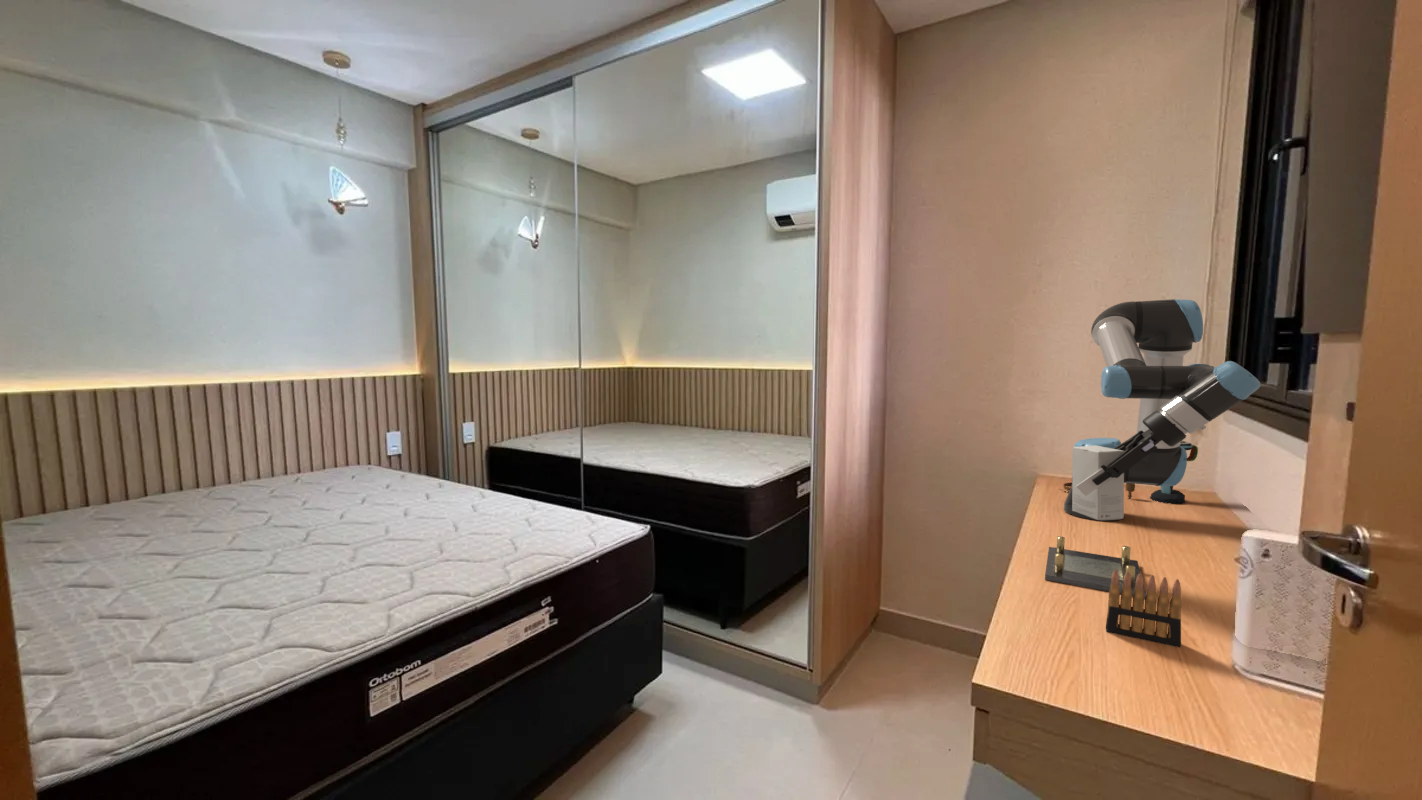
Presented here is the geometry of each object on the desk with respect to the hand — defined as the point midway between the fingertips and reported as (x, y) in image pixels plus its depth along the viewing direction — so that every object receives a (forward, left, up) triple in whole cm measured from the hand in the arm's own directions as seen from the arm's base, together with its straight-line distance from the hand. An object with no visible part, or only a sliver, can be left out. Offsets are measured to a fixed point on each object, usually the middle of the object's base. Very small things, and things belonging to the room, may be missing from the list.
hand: (1080, 485), depth 128 cm
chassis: (0, +3, -20) cm, 20 cm away
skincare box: (0, +3, -7) cm, 7 cm away
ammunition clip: (+29, +10, -21) cm, 37 cm away
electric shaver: (-81, +26, -21) cm, 88 cm away
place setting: (-80, +4, -21) cm, 82 cm away
